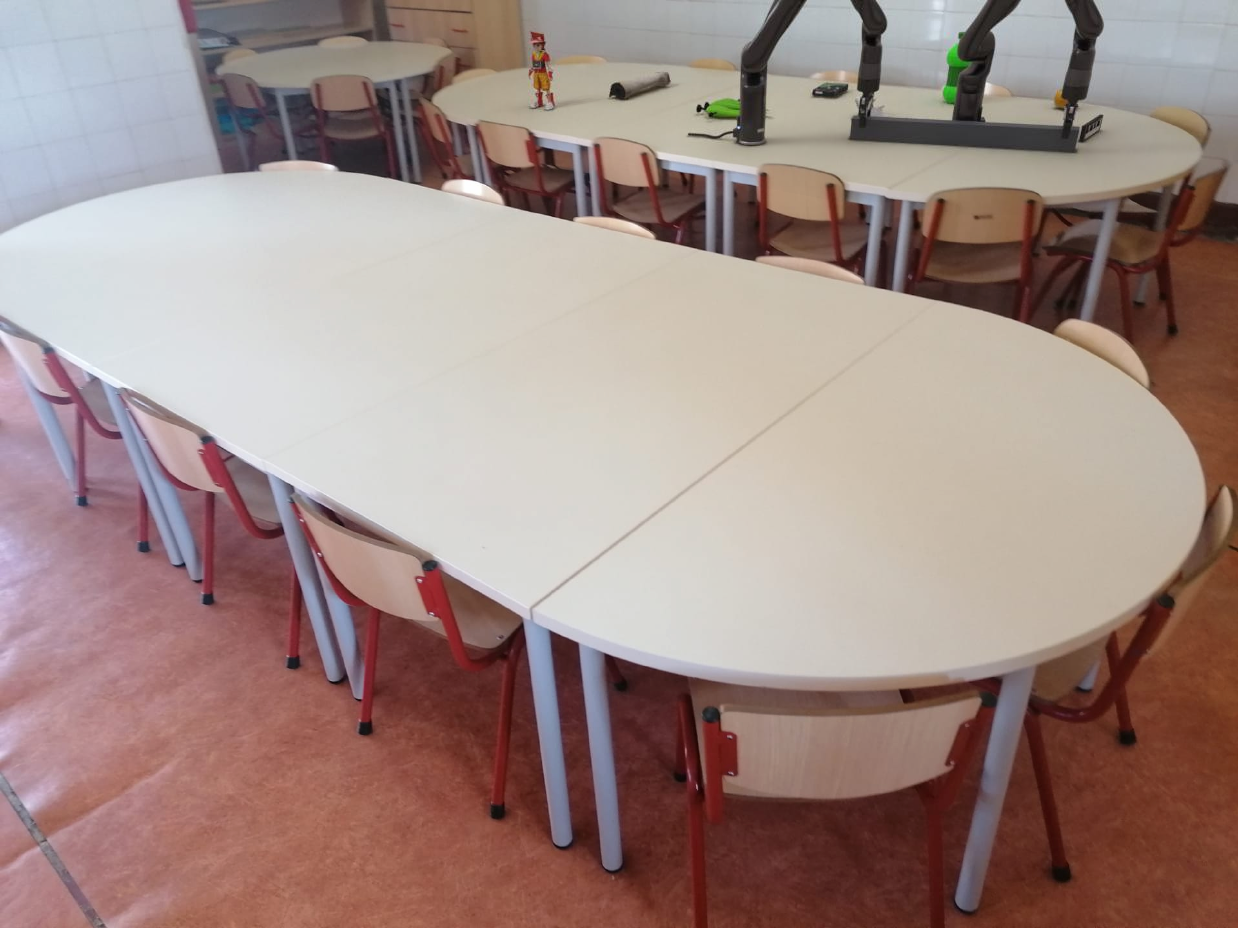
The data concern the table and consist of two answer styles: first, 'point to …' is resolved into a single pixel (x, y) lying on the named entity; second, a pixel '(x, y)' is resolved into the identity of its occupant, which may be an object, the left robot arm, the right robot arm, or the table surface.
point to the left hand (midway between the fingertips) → (864, 124)
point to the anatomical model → (875, 110)
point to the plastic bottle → (953, 72)
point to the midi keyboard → (1091, 127)
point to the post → (965, 133)
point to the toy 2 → (722, 108)
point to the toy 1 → (541, 71)
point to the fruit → (1060, 100)
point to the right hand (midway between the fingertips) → (1064, 135)
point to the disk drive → (830, 90)
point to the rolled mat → (638, 84)
